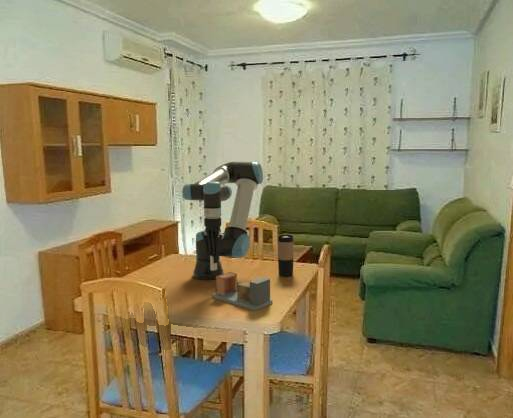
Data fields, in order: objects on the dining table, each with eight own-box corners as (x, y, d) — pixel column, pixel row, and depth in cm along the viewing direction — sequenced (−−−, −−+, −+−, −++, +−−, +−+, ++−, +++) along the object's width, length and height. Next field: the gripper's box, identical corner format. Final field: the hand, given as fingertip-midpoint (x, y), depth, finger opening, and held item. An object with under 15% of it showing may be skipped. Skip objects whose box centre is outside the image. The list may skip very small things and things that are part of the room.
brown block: (237, 297, 188) (237, 284, 188) (243, 295, 191) (243, 281, 191) (259, 304, 181) (258, 289, 180) (265, 301, 184) (265, 287, 183)
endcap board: (211, 297, 194) (210, 273, 192) (229, 290, 202) (228, 267, 200) (255, 310, 178) (254, 284, 176) (272, 303, 186) (272, 278, 184)
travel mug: (277, 273, 229) (277, 234, 226) (292, 272, 229) (292, 234, 226) (279, 277, 221) (279, 237, 218) (294, 276, 222) (294, 237, 219)
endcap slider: (216, 293, 193) (215, 276, 192) (230, 288, 200) (229, 272, 199) (223, 295, 191) (222, 278, 190) (237, 290, 197) (236, 273, 196)
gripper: (196, 216, 197) (197, 269, 200) (216, 219, 188) (218, 274, 192) (208, 214, 202) (209, 265, 206) (229, 217, 194) (230, 270, 197)
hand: (213, 269), depth 199 cm, fingers closed
